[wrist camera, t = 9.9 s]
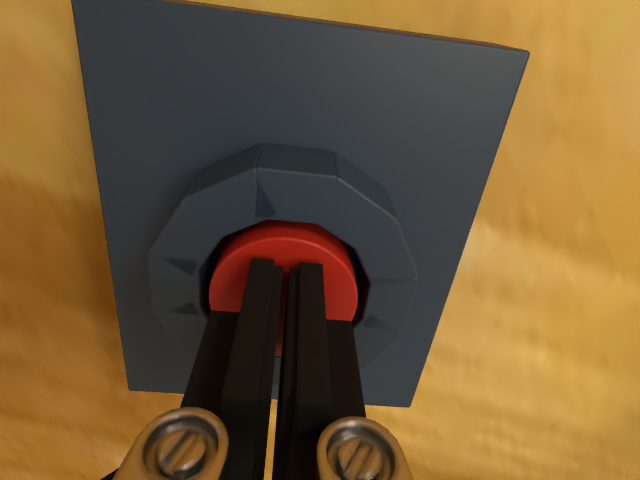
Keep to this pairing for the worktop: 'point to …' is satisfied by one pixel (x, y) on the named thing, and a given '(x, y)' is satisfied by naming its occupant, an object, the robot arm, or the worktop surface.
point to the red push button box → (285, 165)
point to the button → (285, 266)
